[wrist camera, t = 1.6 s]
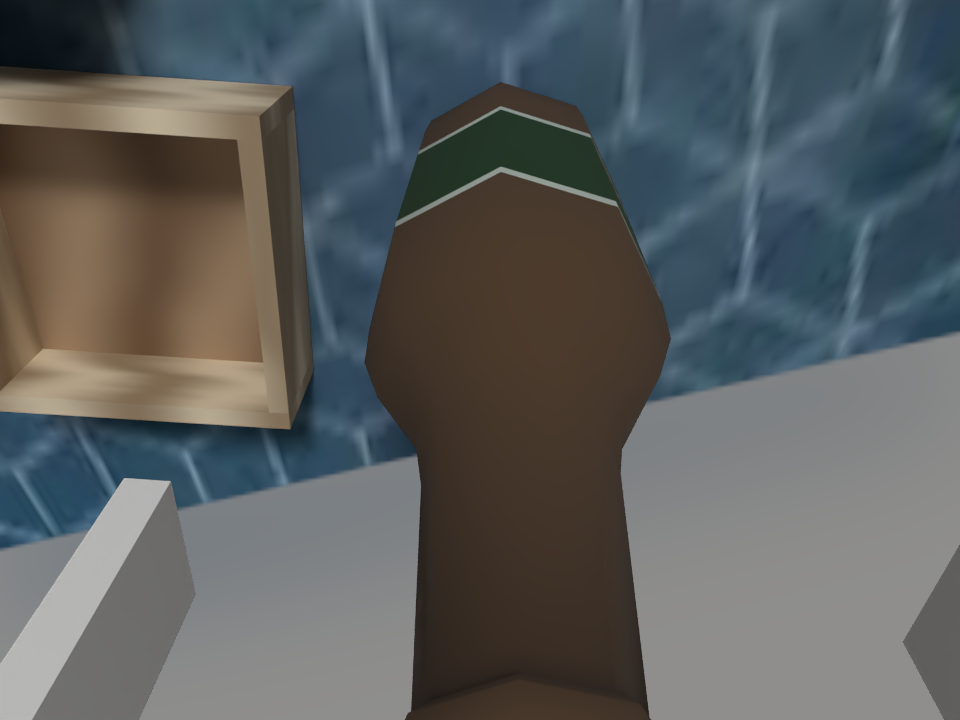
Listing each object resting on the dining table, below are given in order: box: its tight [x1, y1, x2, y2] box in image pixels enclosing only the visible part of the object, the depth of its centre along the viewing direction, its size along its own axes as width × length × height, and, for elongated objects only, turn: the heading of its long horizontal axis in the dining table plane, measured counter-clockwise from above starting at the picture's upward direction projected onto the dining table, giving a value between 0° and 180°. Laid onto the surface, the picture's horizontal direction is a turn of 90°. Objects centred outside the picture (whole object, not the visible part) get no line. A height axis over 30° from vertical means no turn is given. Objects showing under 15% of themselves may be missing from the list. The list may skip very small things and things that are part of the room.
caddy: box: [0, 66, 314, 429], centre depth 28 cm, size 13×13×4 cm
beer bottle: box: [365, 82, 671, 720], centre depth 18 cm, size 8×8×24 cm
